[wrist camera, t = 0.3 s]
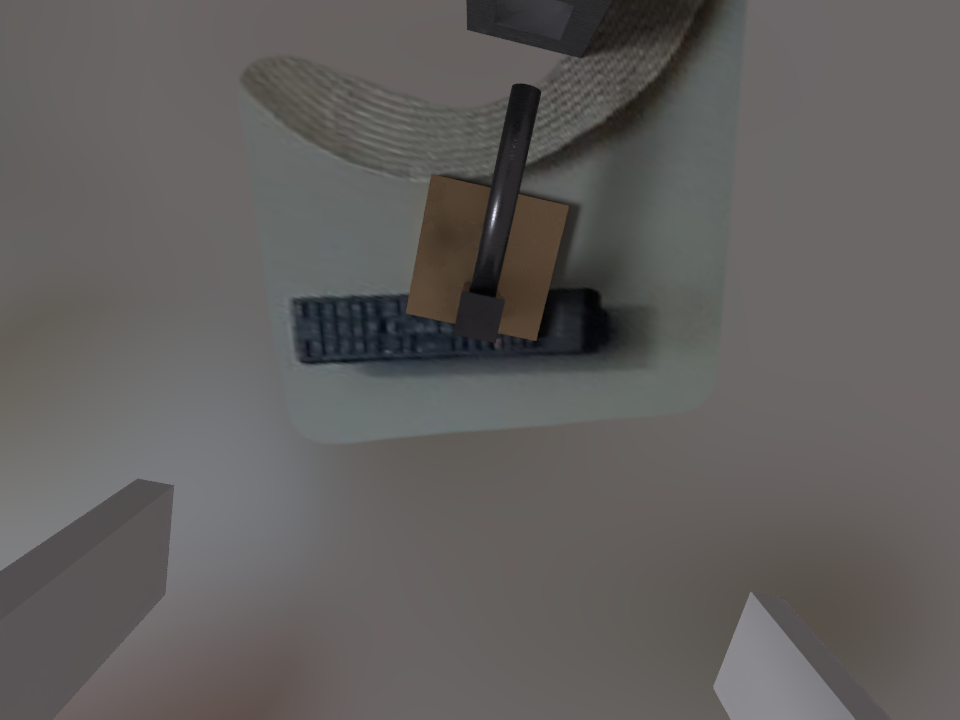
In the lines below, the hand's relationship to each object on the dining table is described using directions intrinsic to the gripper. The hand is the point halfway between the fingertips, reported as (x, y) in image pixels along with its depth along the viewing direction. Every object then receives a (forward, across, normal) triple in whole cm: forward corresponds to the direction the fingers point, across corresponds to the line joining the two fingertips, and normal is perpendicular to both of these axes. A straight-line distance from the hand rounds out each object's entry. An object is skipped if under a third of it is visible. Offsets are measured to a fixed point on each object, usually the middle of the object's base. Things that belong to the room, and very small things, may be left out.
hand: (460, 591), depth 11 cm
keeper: (+27, 0, +9) cm, 28 cm away
